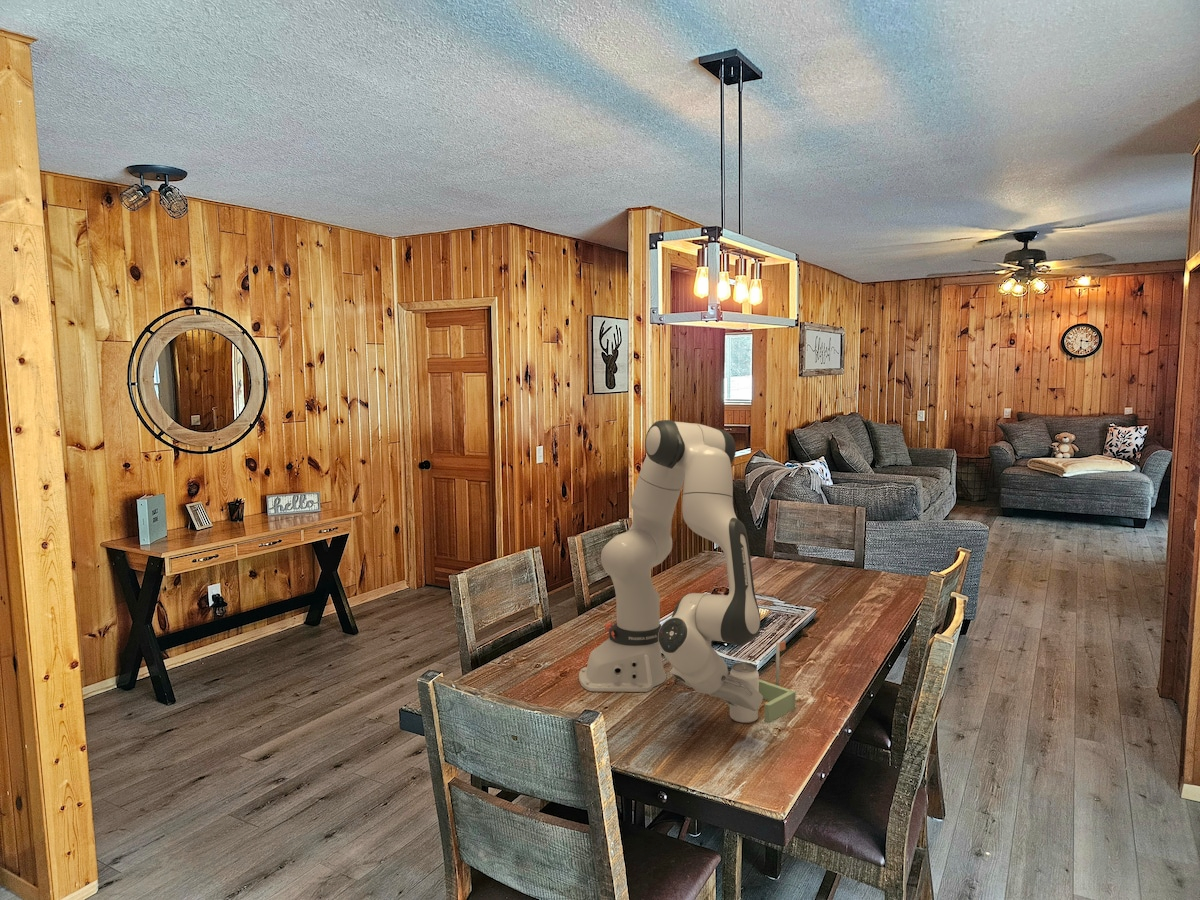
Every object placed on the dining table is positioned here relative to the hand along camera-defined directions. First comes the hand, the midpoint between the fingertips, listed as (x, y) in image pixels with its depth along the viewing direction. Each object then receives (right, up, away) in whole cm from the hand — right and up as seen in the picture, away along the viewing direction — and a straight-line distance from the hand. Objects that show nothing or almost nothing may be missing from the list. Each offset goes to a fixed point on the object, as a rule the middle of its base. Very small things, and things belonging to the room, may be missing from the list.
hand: (733, 701), depth 176 cm
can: (+3, -5, +3) cm, 6 cm away
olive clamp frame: (+9, -4, +9) cm, 14 cm away
